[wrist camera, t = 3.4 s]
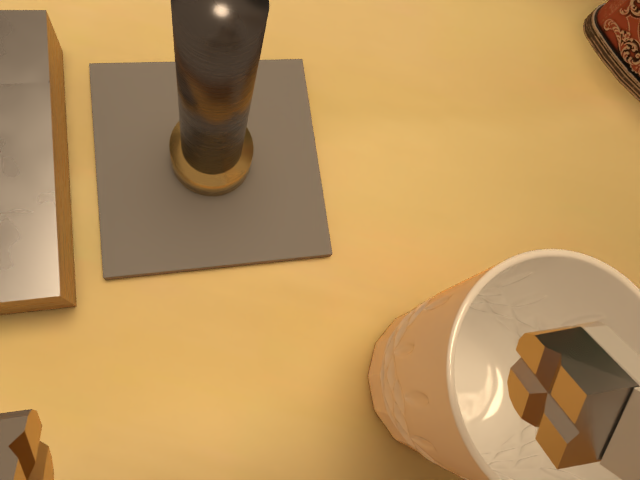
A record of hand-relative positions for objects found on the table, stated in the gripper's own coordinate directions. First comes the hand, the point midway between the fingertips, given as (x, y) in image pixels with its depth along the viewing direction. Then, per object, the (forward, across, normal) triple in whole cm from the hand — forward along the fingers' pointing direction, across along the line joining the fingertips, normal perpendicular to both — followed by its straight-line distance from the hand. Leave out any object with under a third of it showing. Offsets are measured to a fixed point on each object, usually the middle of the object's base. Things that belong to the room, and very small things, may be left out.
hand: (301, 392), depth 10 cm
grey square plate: (+18, 0, +4) cm, 19 cm away
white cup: (+10, -9, +12) cm, 18 cm away
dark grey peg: (+18, 0, +4) cm, 18 cm away
